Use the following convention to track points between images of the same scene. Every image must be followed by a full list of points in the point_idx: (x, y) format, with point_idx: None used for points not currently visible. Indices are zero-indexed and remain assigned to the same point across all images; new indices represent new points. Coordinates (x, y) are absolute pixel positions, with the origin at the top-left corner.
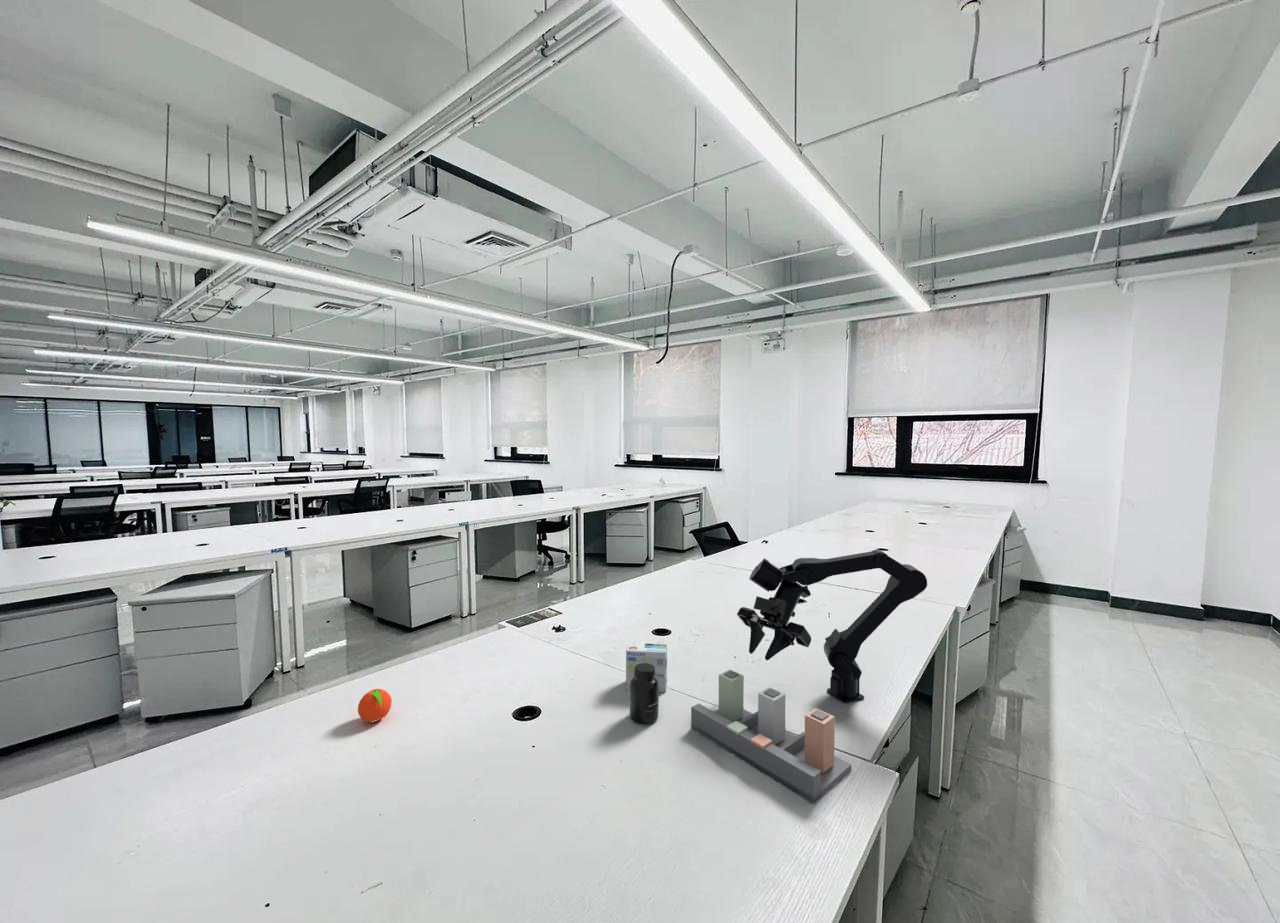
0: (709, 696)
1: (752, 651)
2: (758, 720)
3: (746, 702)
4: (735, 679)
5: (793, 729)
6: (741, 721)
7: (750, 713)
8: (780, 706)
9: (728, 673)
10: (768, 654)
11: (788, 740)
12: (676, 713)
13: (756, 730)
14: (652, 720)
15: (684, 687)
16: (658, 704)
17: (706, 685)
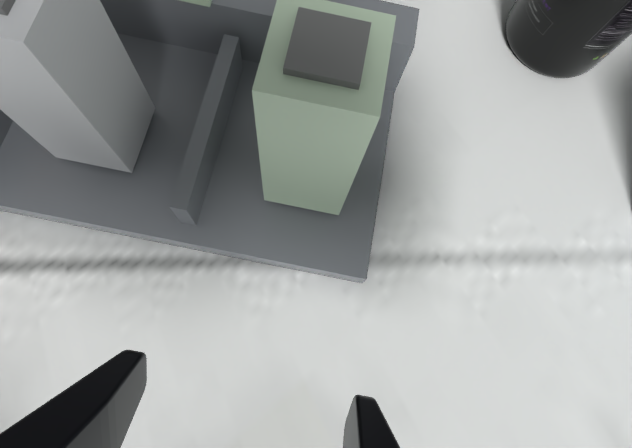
0: (486, 306)
1: (345, 442)
2: (130, 63)
3: (329, 372)
4: (273, 16)
5: (64, 294)
6: (219, 83)
7: (252, 248)
8: None
9: (347, 40)
10: (82, 380)
11: (44, 162)
12: (493, 118)
13: (181, 152)
14: (509, 14)
15: (615, 303)
16: (542, 17)
17: (563, 393)
